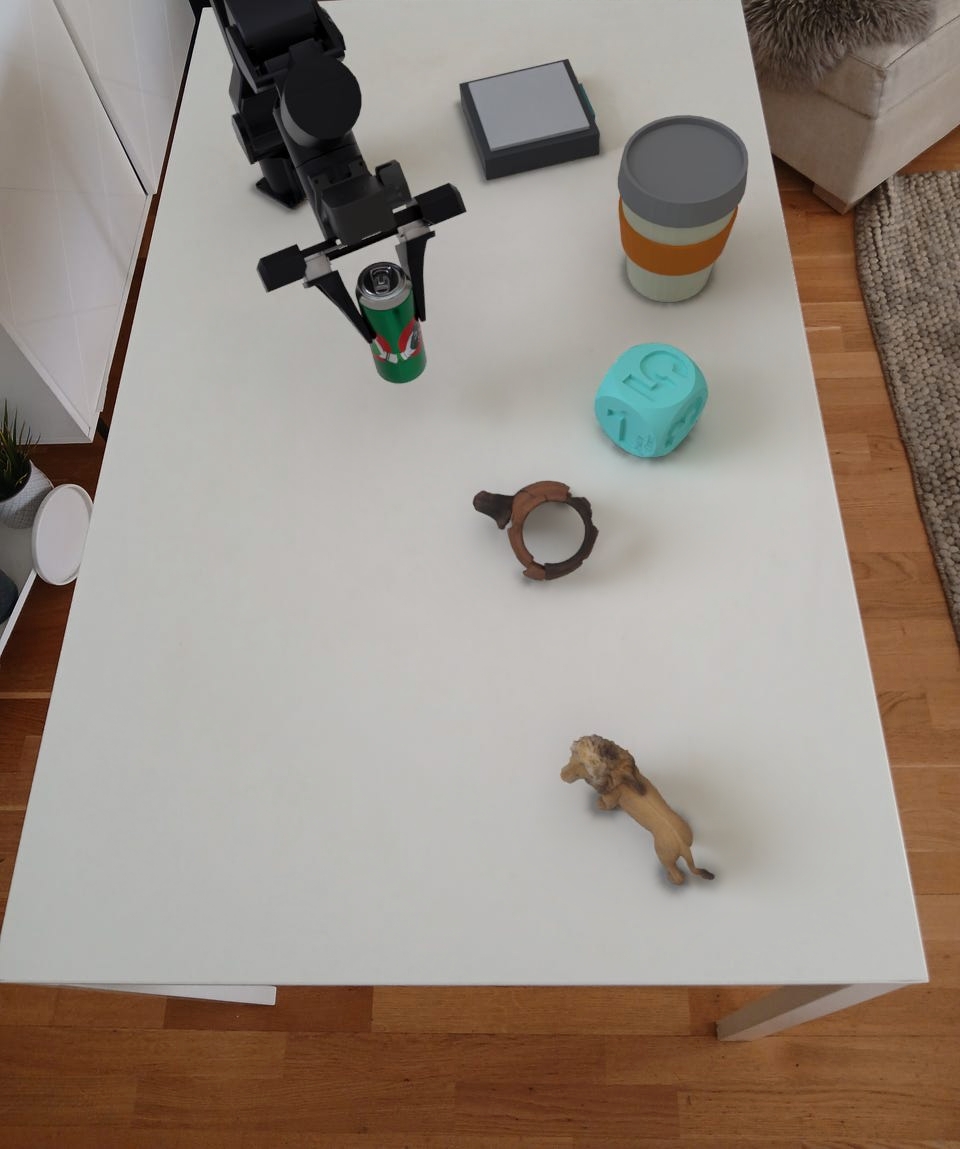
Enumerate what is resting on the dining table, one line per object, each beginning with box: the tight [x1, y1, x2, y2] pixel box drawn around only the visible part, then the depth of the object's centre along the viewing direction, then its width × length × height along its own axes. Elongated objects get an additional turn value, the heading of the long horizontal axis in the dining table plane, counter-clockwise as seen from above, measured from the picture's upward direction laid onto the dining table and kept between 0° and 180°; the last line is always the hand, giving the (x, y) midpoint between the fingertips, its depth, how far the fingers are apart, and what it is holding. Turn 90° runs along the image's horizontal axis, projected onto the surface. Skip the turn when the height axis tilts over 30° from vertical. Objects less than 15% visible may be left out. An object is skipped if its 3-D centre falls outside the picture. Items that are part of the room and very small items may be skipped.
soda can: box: [354, 261, 428, 385], centre depth 84 cm, size 5×5×12 cm
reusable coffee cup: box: [617, 114, 749, 303], centre depth 94 cm, size 12×13×15 cm
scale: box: [458, 58, 601, 181], centre depth 111 cm, size 15×14×4 cm
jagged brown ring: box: [472, 480, 600, 582], centre depth 86 cm, size 12×10×8 cm
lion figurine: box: [559, 733, 716, 885], centre depth 72 cm, size 15×5×9 cm, turn 50°
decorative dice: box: [593, 342, 709, 458], centre depth 89 cm, size 8×8×8 cm
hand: (396, 332), depth 83 cm, fingers closed on soda can, 5 cm apart
